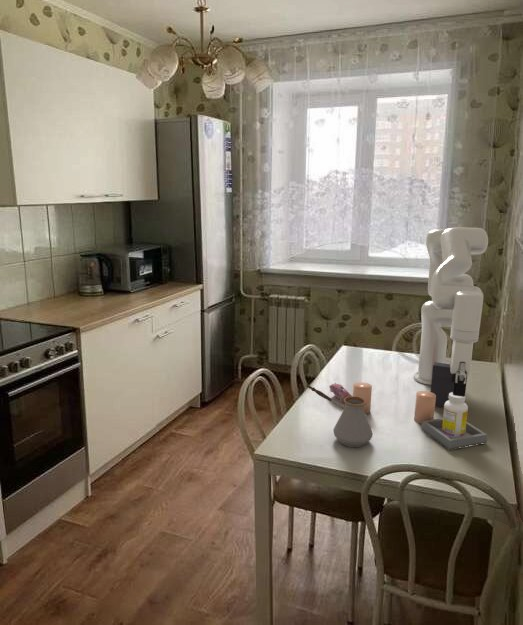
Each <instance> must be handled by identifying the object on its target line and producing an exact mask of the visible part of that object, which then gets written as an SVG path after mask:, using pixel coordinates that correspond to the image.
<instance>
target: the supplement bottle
mask: <svg viewBox="0 0 523 625" xmlns="http://www.w3.org/2000/svg"><path fill="white" fill-rule="evenodd" d="M466 397H467V396H466V395H465V396H464V397H462V396H455V395H453V392H451V393H449V397H448V398H449V400H448V401H446V402H445V404H444V408H443V416H442V418H443V424H442V433H443V434H445V435H446V436H448V437H449V438H458V437H464V436H465V432H466V423H467V422H468V411H469V406H468V404H467V403H466V402H465V401H466V399H467V398H466Z"/></svg>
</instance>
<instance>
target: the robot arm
mask: <svg viewBox="0 0 523 625" xmlns="http://www.w3.org/2000/svg"><path fill="white" fill-rule="evenodd" d="M425 240H426V242H425V243H426V250H427V253H428V257H429V271H428V281H427V282H428V283H427V294H428V295H429V296H430V297H431V300H427V301H425V302H424V303H423V304H422V306H421V311H420V314H421V315H420V317H421V318H420V319H421V336H420V337H421V338H420V348H419V358H418V370H417V371H416V372H415V373H414V374H413V379H414V380H415V381H416V382H418V383H420V384H424V385H428V386H431V382H432V370H433V364H434V363H435V362H438V363H444V364H446V355H447V346H448V336H447V334H446V332H445V331H444V330H443V328H442V327H449V328H450V336H449V338H450V339H451V340H452V345H451V352H450V353H451V355H450V360H449V364H450V372H451V373H452V382H454V388H453V395H455V396H462V397H464V396H466V391H465V390H467V383H466V376H467V377H468V375H469V374H470V370H471V369H470V368H471V365H472V364H471V363H472V356H473V347H474V343H477V342H478V341H479V338H480V337H479V336H480V328H481V319H482V313H483V306H484V305H483V303H484V293H483V291H482V289H481V288H480V287H478V286H475V285H474V281H473V278H472V276H471V275H469V274H466V273H467V272H468V271H470V269H471V268H472V264H473V259H472V255H482V254H484V253H485V252H486V251H487V249H488V246H489V245H488V244H489V237H488V233H487V232H486V230H485V229H484V228H481V227H467V226H465V227H463V226H462V227H461V226H459V227H457V226H455V227H449V228H439V229H437V228H435V229H432V230H430V231H428V233H427V235H426V239H425Z"/></svg>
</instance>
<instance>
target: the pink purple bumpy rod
mask: <svg viewBox="0 0 523 625" xmlns="http://www.w3.org/2000/svg"><path fill="white" fill-rule="evenodd" d="M329 392H331V393H333V394H334V397H335V398H337V399H339V400H340V401H341V402H342V403H344V398H346V397H350V396H353V394H351V393H350V392H349V391H348V390H347V389H346V388H345V387H344V385H342V384H341V383H340V384H339V383H336V382H334V383H332V384H330V385H329Z"/></svg>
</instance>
